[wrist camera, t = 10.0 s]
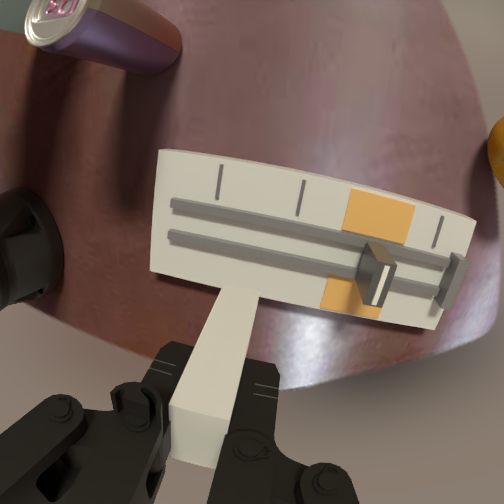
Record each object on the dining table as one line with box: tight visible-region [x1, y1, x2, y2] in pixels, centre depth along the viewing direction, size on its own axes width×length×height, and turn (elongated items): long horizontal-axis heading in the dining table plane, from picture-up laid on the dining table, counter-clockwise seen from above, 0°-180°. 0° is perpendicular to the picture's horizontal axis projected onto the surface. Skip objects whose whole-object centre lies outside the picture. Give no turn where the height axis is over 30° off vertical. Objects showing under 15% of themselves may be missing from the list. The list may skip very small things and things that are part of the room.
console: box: [150, 149, 477, 330], centre depth 28 cm, size 30×12×4 cm, turn 80°
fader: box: [355, 242, 398, 308], centre depth 24 cm, size 2×4×6 cm, turn 170°
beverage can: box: [24, 0, 182, 76], centre depth 18 cm, size 6×6×15 cm
